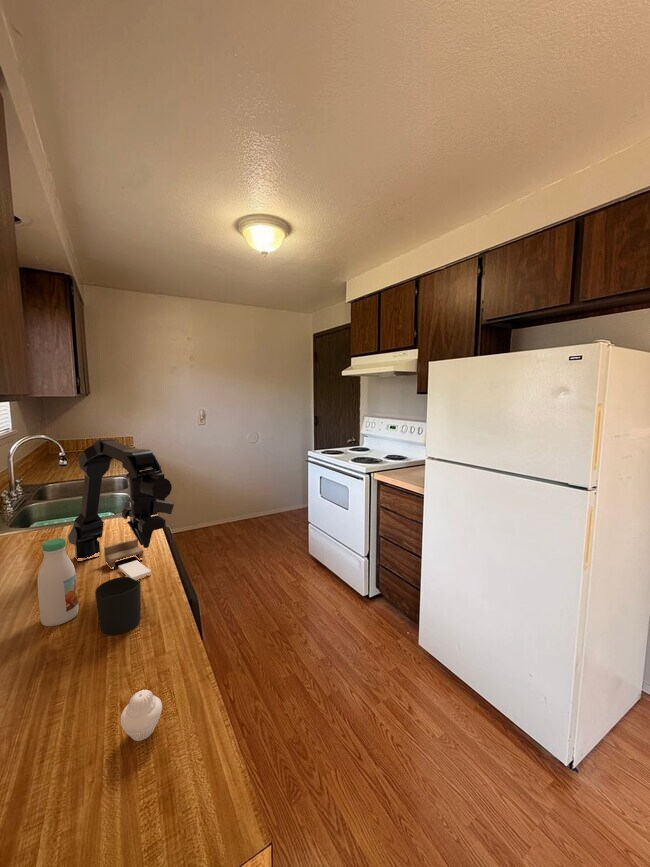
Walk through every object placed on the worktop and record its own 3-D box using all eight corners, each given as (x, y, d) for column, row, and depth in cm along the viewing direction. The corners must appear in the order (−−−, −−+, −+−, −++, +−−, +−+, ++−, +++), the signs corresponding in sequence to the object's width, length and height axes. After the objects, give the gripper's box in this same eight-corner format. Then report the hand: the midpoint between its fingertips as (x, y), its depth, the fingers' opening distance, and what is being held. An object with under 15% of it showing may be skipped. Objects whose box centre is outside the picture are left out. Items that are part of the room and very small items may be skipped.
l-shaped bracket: (110, 570, 115) (109, 552, 115) (105, 564, 119) (104, 547, 119) (143, 560, 122) (142, 543, 122) (137, 555, 126) (136, 538, 126)
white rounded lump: (169, 715, 63) (167, 678, 62) (153, 749, 57) (151, 708, 56) (133, 716, 62) (130, 679, 62) (113, 750, 56) (110, 710, 56)
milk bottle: (55, 630, 86) (48, 549, 84) (33, 623, 88) (25, 545, 86) (86, 612, 93) (80, 537, 91) (64, 606, 95) (58, 533, 93)
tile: (132, 584, 108) (132, 577, 108) (118, 571, 115) (118, 565, 115) (151, 577, 112) (151, 571, 112) (137, 565, 120) (136, 560, 119)
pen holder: (144, 610, 94) (142, 573, 93) (140, 631, 85) (137, 591, 84) (102, 618, 90) (100, 580, 89) (94, 641, 82) (91, 600, 81)
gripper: (183, 494, 102) (185, 547, 104) (158, 483, 115) (160, 530, 117) (141, 502, 94) (144, 559, 96) (119, 490, 108) (123, 540, 109)
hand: (144, 546), depth 105 cm, fingers open, 3 cm apart
